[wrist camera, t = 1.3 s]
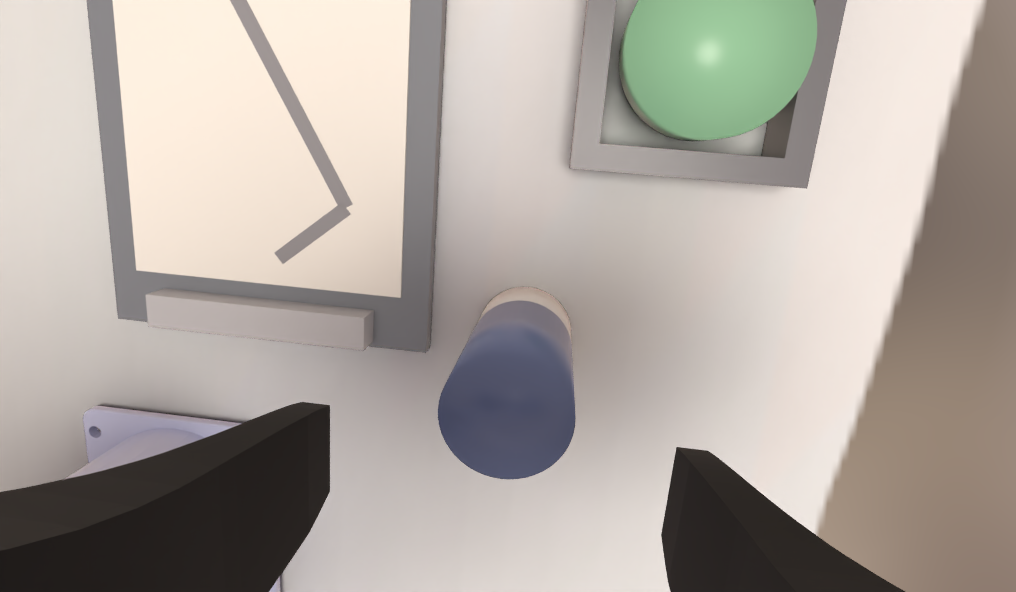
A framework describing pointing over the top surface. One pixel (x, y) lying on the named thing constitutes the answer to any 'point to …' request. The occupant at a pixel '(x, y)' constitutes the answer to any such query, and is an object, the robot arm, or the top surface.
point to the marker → (512, 388)
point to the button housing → (778, 165)
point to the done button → (715, 63)
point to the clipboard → (273, 165)
